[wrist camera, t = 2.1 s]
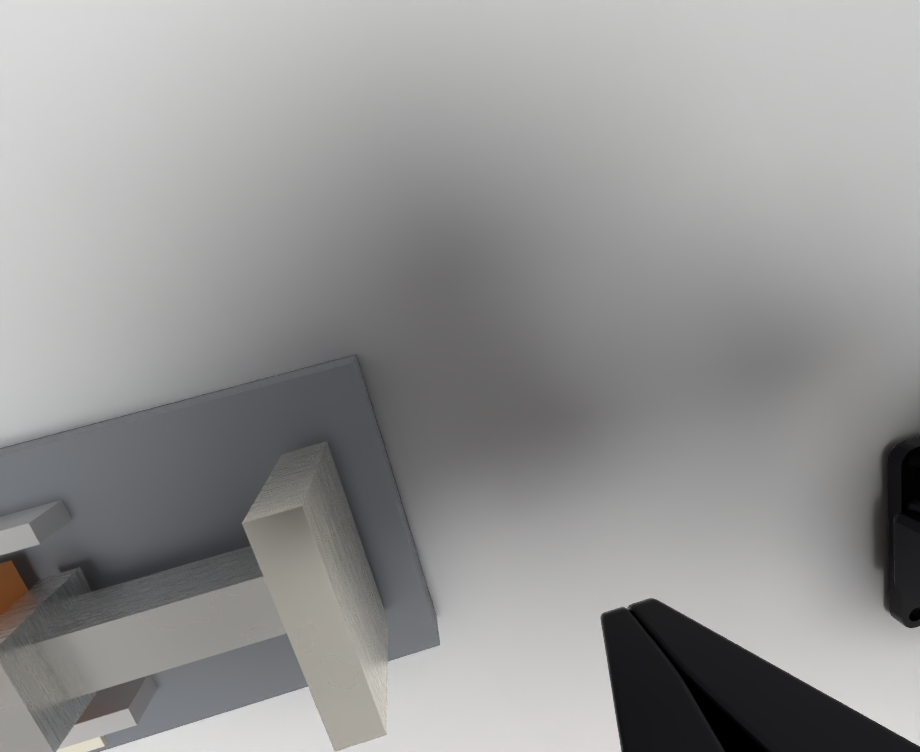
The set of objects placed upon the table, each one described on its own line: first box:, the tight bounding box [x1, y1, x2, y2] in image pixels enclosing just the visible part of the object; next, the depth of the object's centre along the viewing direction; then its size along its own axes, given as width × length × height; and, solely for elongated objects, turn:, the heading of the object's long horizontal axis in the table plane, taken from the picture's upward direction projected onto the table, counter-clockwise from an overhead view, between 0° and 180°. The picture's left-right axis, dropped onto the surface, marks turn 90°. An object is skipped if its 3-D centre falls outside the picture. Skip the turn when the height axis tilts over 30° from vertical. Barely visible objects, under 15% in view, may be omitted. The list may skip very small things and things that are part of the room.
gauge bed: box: [0, 355, 440, 752], centre depth 10 cm, size 16×8×5 cm, turn 104°
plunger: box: [0, 441, 388, 752], centre depth 10 cm, size 7×5×3 cm
